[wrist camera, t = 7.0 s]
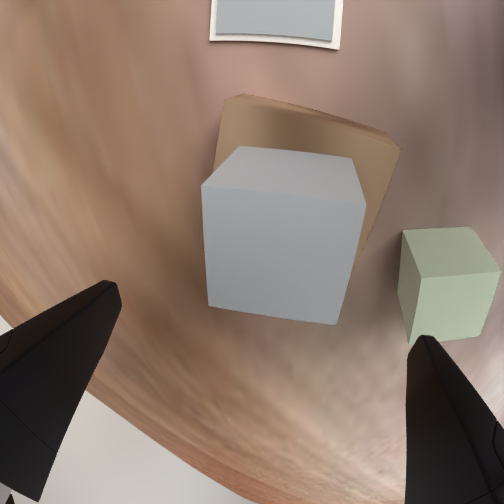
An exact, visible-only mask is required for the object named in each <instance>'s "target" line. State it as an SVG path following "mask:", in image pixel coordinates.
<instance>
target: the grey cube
mask: <svg viewBox="0 0 504 504" xmlns="http://www.w3.org/2000/svg"><path fill="white" fill-rule="evenodd" d="M201 194H202V215H203V233H204V250H205V265H206V279H207V292H208V304H209V306H211V307H217V308H222V309H228V310H234V311H240V312H246V313H252V314H258V315H265V316H271V317H278V318H285V319H292V320H299V321H306V322H313V323H321V324H329V325H336V324H337V321H338V317H339V314H340V311H341V307H342V304H343V300H344V297H345V293H346V289H347V286H348V282H349V278H350V274H351V270H352V267H353V263H354V259H355V254H356V250H357V246H358V242H359V238H360V233H361V229H362V224H363V220H364V215H365V210H366V202H365V198H364V195H363V192H362V188H361V185H360V182H359V179H358V176H357V173H356V170H355V167H354V164H353V161H352V158H346V157H339V156H332V155H325V154H317V153H309V152H301V151H292V150H282V149H271V148H260V147H247V146H239V147H238V148H237V149H236V150H235V151H234V152H233V153H232V154H231V155H230V156H229V157H228V158H227V159H226V160H225V161H224V162H223V163H222V164H221V165H220V166H219V167H218V168H217V169H216V170H215V171H214V172H213V174H212V175H211V176H210V177H209V178H208V179H207V180H206V181H205V182H204V183H203V184H202V185H201Z"/></svg>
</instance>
